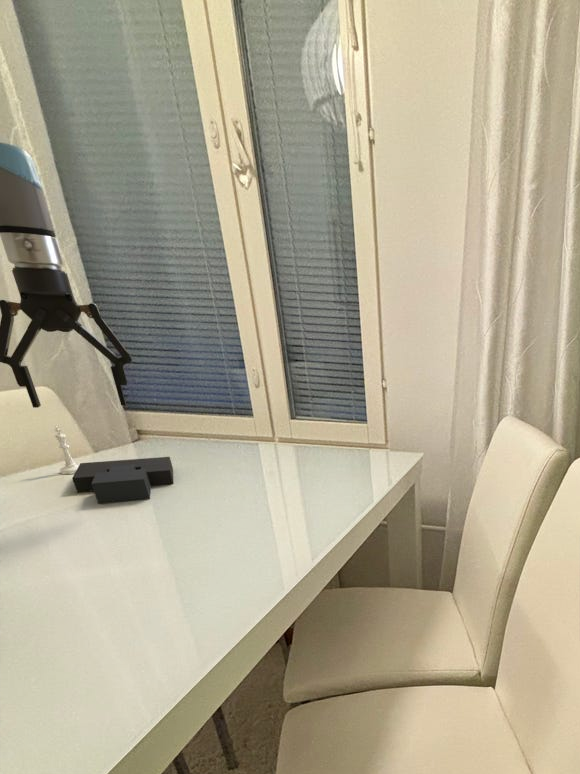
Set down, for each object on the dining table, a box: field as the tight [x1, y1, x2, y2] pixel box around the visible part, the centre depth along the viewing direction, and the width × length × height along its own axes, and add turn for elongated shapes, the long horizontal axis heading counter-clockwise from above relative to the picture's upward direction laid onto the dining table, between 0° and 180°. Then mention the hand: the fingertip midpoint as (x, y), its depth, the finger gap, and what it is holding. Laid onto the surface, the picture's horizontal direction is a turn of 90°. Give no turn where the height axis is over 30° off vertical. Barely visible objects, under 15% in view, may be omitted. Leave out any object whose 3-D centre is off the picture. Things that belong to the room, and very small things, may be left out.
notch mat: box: [71, 456, 174, 493], centre depth 122 cm, size 18×14×3 cm
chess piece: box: [54, 425, 79, 475], centre depth 125 cm, size 5×5×10 cm
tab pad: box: [92, 465, 152, 505], centre depth 113 cm, size 9×14×4 cm, turn 26°
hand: (81, 405), depth 101 cm, fingers open, 13 cm apart
